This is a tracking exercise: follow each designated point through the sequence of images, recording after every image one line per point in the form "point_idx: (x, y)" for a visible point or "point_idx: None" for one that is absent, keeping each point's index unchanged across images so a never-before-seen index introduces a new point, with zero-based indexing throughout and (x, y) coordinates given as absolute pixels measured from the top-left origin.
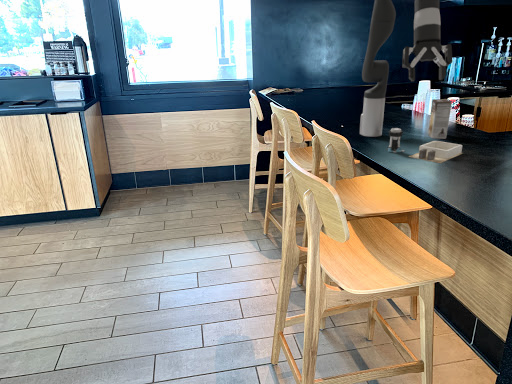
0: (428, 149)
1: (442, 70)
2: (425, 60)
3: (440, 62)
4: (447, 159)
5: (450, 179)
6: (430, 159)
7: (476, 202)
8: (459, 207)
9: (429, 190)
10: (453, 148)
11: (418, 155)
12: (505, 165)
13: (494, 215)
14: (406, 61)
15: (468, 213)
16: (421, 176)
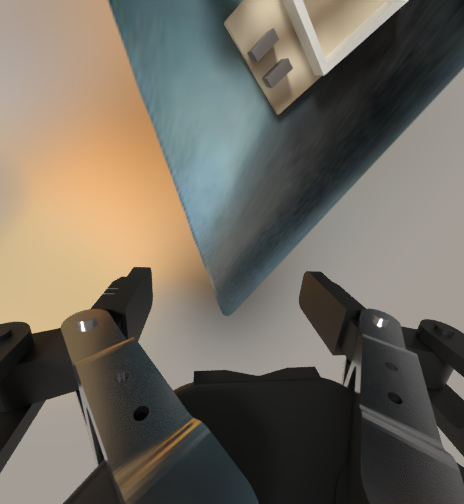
0: (295, 10)
1: (323, 334)
2: (247, 384)
3: (341, 383)
4: (314, 80)
5: (253, 198)
6: (267, 87)
7: (240, 271)
8: (215, 281)
9: (200, 240)
10: (360, 41)
11: (260, 11)
12: (411, 119)
13: (239, 294)
14: (2, 431)
15: (217, 292)
16: (210, 180)
